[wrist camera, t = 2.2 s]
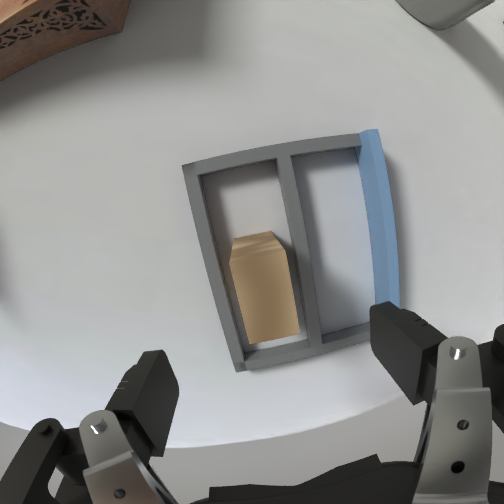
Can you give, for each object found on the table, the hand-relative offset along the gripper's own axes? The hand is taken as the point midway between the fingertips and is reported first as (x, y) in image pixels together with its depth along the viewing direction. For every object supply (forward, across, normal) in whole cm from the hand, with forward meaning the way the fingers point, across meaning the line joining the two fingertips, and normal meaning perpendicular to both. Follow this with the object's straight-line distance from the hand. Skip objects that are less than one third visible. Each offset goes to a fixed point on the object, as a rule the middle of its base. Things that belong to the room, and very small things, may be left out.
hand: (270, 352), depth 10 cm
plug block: (+13, 0, 0) cm, 13 cm away
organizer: (+13, -4, 0) cm, 14 cm away
